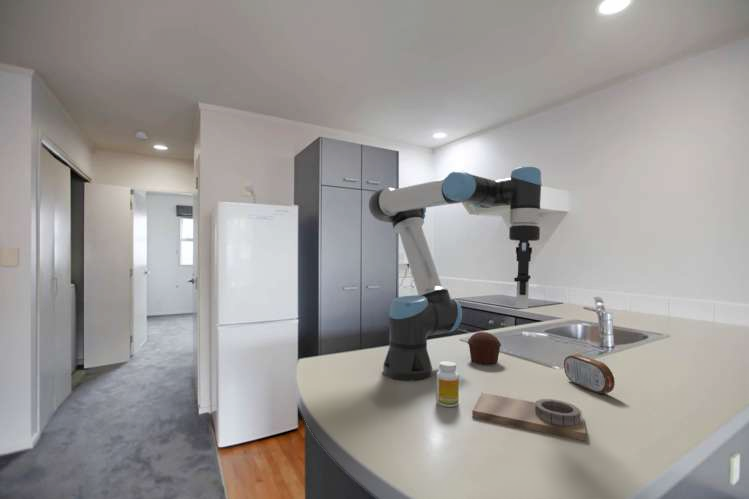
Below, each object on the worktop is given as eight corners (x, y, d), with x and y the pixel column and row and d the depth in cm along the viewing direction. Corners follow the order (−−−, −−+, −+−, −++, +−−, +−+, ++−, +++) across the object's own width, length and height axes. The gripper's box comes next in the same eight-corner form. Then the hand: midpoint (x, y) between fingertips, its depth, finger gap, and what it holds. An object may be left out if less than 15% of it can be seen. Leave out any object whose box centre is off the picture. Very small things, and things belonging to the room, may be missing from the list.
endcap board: (472, 417, 79) (472, 401, 79) (481, 398, 90) (481, 384, 90) (586, 441, 69) (586, 423, 69) (581, 417, 80) (581, 401, 80)
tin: (615, 397, 92) (615, 365, 92) (606, 398, 91) (605, 366, 92) (570, 378, 107) (570, 350, 107) (561, 379, 106) (561, 351, 106)
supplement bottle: (462, 406, 85) (463, 365, 85) (442, 408, 83) (443, 367, 83) (451, 398, 90) (452, 359, 90) (432, 400, 88) (433, 361, 89)
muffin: (462, 357, 128) (462, 329, 129) (491, 356, 130) (491, 329, 130) (475, 367, 117) (475, 336, 117) (507, 366, 118) (507, 336, 118)
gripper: (542, 221, 82) (539, 312, 81) (538, 229, 105) (536, 300, 104) (507, 221, 85) (504, 309, 84) (511, 229, 107) (509, 298, 107)
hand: (522, 304), depth 94 cm, fingers open, 13 cm apart
